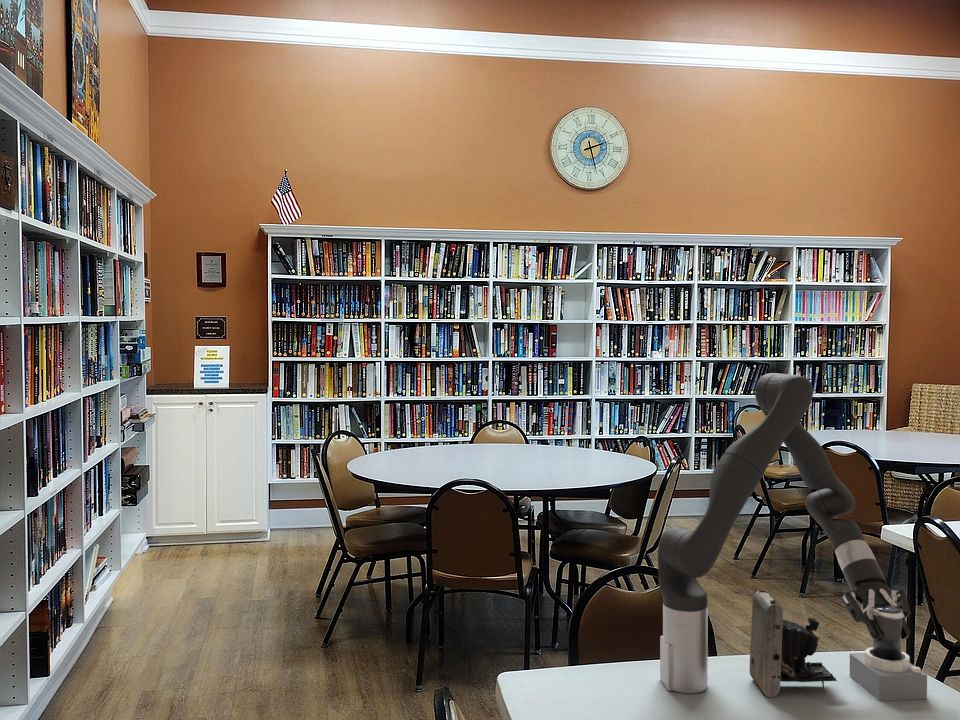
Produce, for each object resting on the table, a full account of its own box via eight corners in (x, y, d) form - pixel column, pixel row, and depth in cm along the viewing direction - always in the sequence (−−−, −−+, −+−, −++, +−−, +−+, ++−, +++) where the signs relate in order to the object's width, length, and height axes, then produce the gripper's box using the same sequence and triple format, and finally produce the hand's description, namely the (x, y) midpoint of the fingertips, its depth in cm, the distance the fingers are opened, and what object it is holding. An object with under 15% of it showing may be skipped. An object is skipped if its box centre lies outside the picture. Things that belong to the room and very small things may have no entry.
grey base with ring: (879, 700, 166) (879, 666, 166) (849, 676, 178) (849, 644, 178) (926, 699, 167) (927, 665, 167) (894, 674, 179) (894, 643, 179)
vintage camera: (838, 701, 167) (842, 604, 167) (762, 698, 168) (765, 601, 167) (819, 682, 177) (823, 590, 177) (747, 679, 177) (751, 587, 177)
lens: (881, 660, 170) (881, 612, 169) (867, 650, 175) (867, 603, 175) (907, 659, 170) (908, 612, 170) (892, 649, 176) (893, 603, 175)
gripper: (835, 558, 178) (868, 632, 167) (896, 555, 180) (933, 628, 169) (822, 575, 184) (853, 648, 172) (881, 572, 186) (916, 644, 174)
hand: (892, 638), depth 171 cm, fingers closed on lens, 5 cm apart
